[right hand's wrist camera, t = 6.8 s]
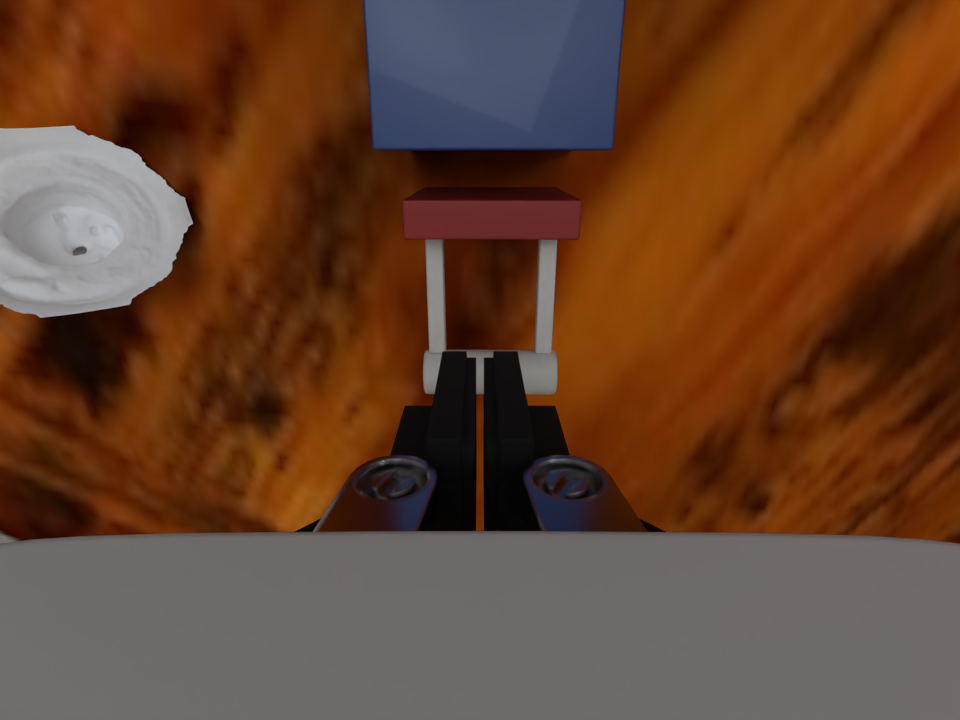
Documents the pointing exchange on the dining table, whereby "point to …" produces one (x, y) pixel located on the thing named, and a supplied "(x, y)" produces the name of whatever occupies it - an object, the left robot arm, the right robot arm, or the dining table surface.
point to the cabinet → (493, 73)
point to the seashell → (81, 222)
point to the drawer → (493, 219)
